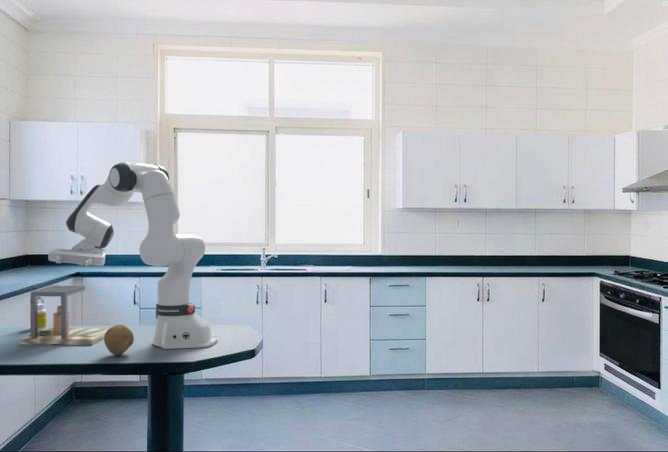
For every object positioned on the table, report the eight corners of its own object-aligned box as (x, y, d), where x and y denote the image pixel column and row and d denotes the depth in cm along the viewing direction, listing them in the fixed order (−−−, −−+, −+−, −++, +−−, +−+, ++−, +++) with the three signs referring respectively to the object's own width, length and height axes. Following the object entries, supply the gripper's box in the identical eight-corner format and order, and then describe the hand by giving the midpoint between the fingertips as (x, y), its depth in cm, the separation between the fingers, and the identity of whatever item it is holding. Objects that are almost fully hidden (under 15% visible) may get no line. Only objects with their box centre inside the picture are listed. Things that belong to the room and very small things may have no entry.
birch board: (111, 333, 197) (111, 328, 197) (92, 344, 181) (92, 338, 181) (45, 333, 196) (45, 327, 196) (20, 344, 180) (20, 338, 180)
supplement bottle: (39, 330, 201) (38, 305, 201) (27, 329, 202) (27, 305, 202) (49, 327, 206) (49, 303, 206) (37, 326, 207) (37, 302, 207)
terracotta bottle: (71, 331, 191) (71, 305, 191) (64, 335, 186) (64, 307, 186) (57, 331, 191) (57, 305, 190) (50, 335, 186) (50, 307, 186)
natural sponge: (116, 350, 174) (116, 321, 174) (139, 352, 172) (139, 322, 172) (98, 357, 166) (98, 326, 165) (121, 360, 163) (121, 328, 163)
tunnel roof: (85, 329, 195) (85, 285, 195) (65, 339, 180) (65, 292, 180) (53, 328, 195) (53, 285, 195) (30, 338, 180) (30, 291, 180)
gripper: (55, 243, 207) (42, 251, 194) (109, 248, 211) (99, 257, 197) (54, 258, 208) (41, 267, 195) (108, 263, 212) (98, 273, 198)
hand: (71, 262), depth 196 cm, fingers open, 8 cm apart
